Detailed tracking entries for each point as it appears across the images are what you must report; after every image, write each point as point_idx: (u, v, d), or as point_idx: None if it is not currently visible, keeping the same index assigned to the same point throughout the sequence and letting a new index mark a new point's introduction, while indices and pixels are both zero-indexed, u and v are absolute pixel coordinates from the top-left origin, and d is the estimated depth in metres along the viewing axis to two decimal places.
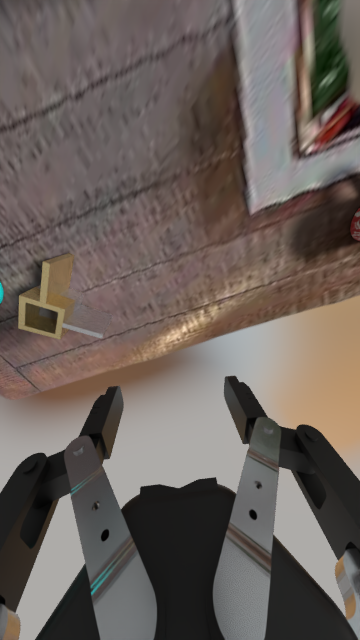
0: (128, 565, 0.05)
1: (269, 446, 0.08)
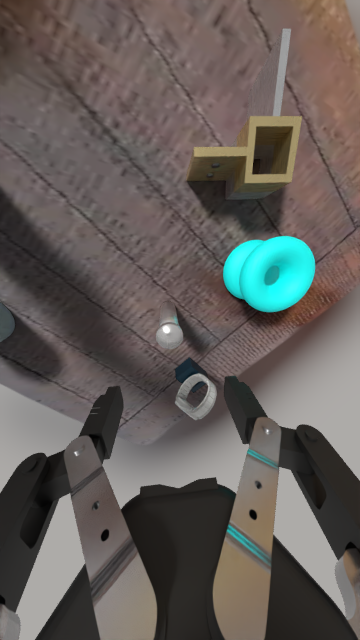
0: (128, 565, 0.05)
1: (269, 446, 0.08)
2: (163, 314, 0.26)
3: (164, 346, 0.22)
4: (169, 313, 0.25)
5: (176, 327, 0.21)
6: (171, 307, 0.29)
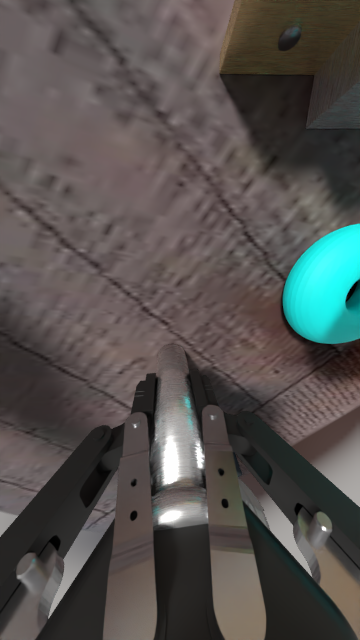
0: (128, 565, 0.05)
1: (218, 430, 0.09)
2: (162, 401, 0.11)
3: None
4: (178, 402, 0.10)
5: None
6: (180, 368, 0.13)
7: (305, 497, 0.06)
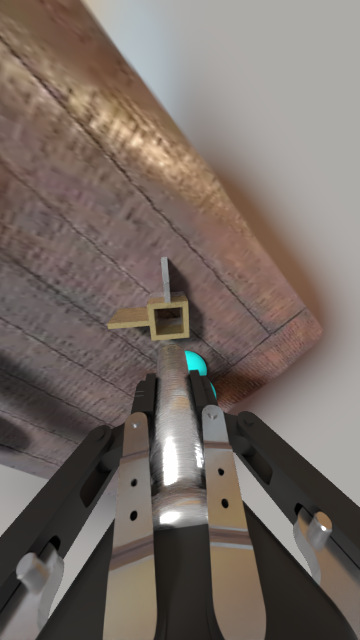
0: (128, 565, 0.05)
1: (218, 430, 0.09)
2: (162, 402, 0.11)
3: None
4: (178, 403, 0.10)
5: None
6: (180, 368, 0.13)
7: (305, 497, 0.06)
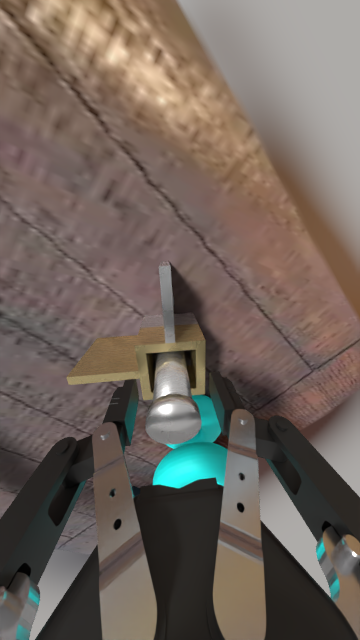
0: (128, 565, 0.05)
1: (246, 436, 0.08)
2: (162, 359, 0.15)
3: (163, 441, 0.11)
4: (173, 359, 0.14)
5: (188, 409, 0.10)
6: None
7: (335, 516, 0.06)
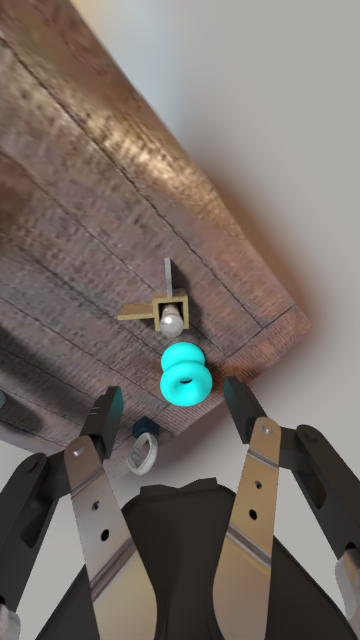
0: (128, 565, 0.05)
1: (269, 446, 0.08)
2: (165, 307, 0.29)
3: (167, 334, 0.25)
4: (171, 306, 0.28)
5: (177, 317, 0.24)
6: None
7: None
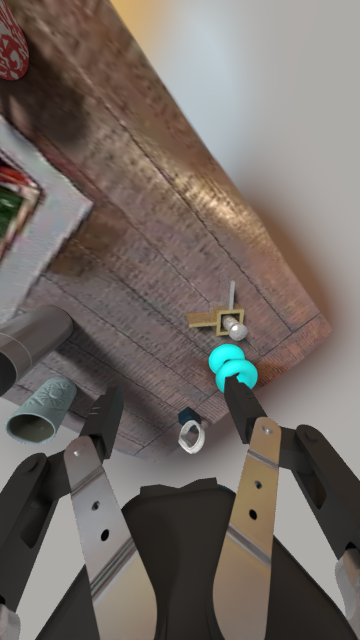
0: (128, 565, 0.05)
1: (269, 446, 0.08)
2: (226, 317, 0.37)
3: (234, 339, 0.33)
4: (231, 316, 0.36)
5: (243, 326, 0.32)
6: None
7: None
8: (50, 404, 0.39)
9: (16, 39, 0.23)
